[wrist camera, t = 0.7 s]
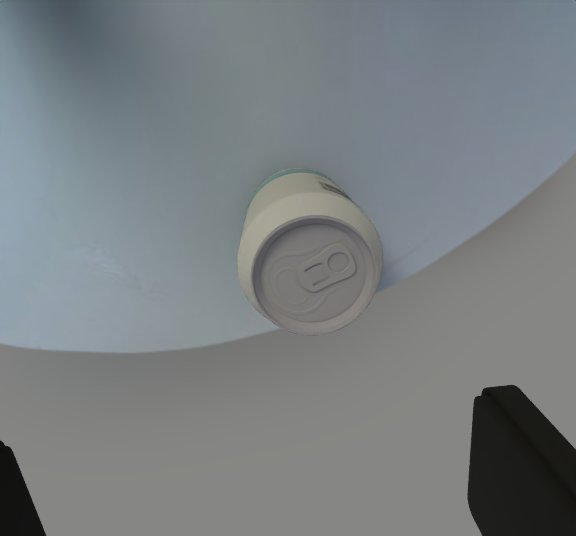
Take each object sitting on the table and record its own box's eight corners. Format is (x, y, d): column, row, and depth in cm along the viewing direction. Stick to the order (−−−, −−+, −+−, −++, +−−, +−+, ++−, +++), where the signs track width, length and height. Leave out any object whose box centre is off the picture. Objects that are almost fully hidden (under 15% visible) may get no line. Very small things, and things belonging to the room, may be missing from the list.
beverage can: (228, 198, 29) (202, 250, 18) (317, 146, 28) (350, 167, 17) (278, 279, 31) (284, 372, 20) (362, 233, 30) (418, 304, 19)
